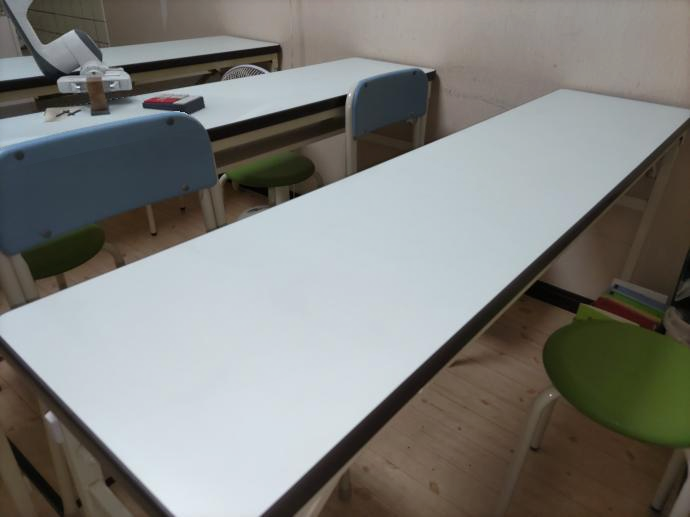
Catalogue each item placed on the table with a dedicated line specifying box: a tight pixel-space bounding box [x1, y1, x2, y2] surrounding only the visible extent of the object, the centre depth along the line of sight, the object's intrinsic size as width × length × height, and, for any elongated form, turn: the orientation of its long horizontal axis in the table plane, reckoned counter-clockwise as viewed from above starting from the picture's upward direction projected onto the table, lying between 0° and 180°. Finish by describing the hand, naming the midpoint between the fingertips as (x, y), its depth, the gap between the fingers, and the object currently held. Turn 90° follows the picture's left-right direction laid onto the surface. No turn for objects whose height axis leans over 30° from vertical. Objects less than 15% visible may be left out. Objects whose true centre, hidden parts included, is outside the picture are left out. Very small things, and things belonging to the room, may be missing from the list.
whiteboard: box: [42, 105, 90, 124], centre depth 149 cm, size 20×16×1 cm
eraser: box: [86, 77, 111, 117], centre depth 148 cm, size 5×10×9 cm, turn 23°
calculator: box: [141, 93, 206, 115], centre depth 157 cm, size 11×4×15 cm
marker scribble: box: [56, 109, 82, 117], centre depth 148 cm, size 6×5×1 cm
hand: (95, 89), depth 148 cm, fingers open, 8 cm apart
